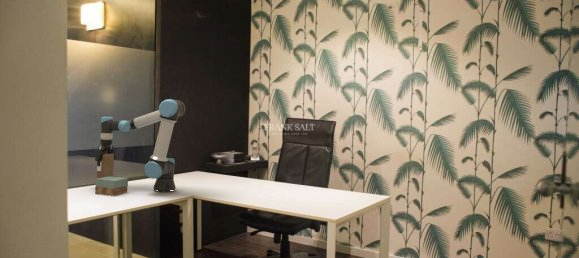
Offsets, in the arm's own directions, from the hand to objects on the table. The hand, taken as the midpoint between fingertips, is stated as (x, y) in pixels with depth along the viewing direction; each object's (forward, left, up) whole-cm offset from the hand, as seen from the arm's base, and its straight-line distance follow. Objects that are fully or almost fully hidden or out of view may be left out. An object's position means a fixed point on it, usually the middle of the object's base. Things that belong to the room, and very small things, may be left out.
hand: (105, 169), depth 296 cm
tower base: (-13, +12, -13) cm, 22 cm away
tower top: (-13, +12, -8) cm, 20 cm away
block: (0, 0, -9) cm, 9 cm away
